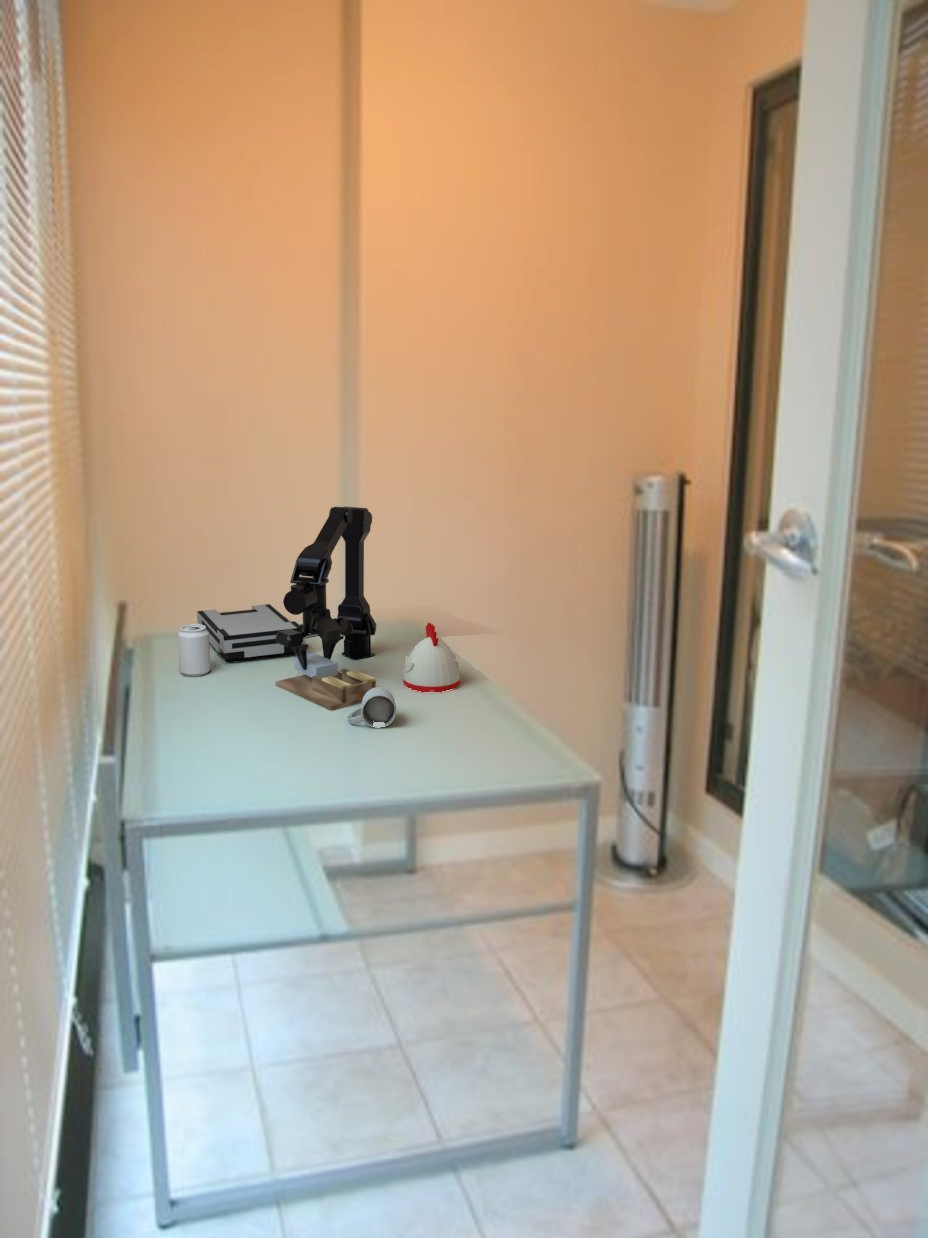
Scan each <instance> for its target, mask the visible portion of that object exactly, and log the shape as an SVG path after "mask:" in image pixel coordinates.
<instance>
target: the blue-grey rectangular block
mask: <svg viewBox="0 0 928 1238" xmlns="http://www.w3.org/2000/svg"><path fill="white" fill-rule="evenodd" d="M293 658H294V659H293V661H294V670H295V671H297V672H300V673H302V675H307V676H310V677H312V676H318V677H320V678H325V677H329V676H335V675H338V672H339V670H338V668H339V667H338V662H336V661H334V660H332V659H327V658H325V657H324V656H322V655H321V654H318V653H316V652H315V653H310V654H307V669H306V670H304V669H303V668H302V666H301V664H300V662H299V660H298V658H297V656H296V657H293Z"/></svg>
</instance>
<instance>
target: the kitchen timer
mask: <svg viewBox="0 0 928 1238" xmlns="http://www.w3.org/2000/svg"><path fill="white" fill-rule="evenodd" d="M424 626H425V635H426V637H425V638H423V639H422V640H420V641H419V642H418V643H417V644H416V645H415V646H414V647H413V649H412V650H411V652H410V654H409V656H408V655H406V656H405V659H404V666H403V676H402V678H403V679H402V684H403V683H404V684H403V686H404V685H405V686H406V687H408V688H411V689H412V690H417V691H421V692H420V693H424V692H440V693H443V692H442V691H446V690H450V689H453V688H456V687H457V688H459V687H458V685H459V684H460V685H461V675H460V674H461V673H460V666H459V660H458V657H457V656H456V655H455V653H454V652H453V651H452V649H451V648H450V646H448V645H447V643H446V642H445V641H443V640H442V639H441V638H438V637H437V634H438V633H437V631H436V626H435V625H434V624H433V623H432V622H427V623H426V625H424ZM460 685H459V686H460ZM405 686H404V687H405ZM406 687H405V688H406ZM457 688H456V689H457ZM412 690H411V691H412ZM417 691H416V692H417Z"/></svg>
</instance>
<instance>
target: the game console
mask: <svg viewBox="0 0 928 1238" xmlns="http://www.w3.org/2000/svg"><path fill="white" fill-rule="evenodd" d="M196 618H197V624H201V625H204V626H206V630H207V631H208V632H209V643H210V646H211V645H212V646H211V647H212V648H213V649H214V651H215V652H216V653H217V654H218V655H219V656H220V658H221V659H222V660H223V661H224V662H225V663H226V664H229V663H230V664H231V663H237V662H247V661H250V658H252V657H260V656H270V655H273V656H274V657H275V658H278V657H279V658H280V657H288V656H296V654H295V652H294V651H293V649H292V648H291V647H286V646H283V645H281V644H278V643H276V635H277V633H278V632H279V631H283V630H288V629H292V630H295V631H297V632H301V631H303V629H300V624H299V623H298V622H296V621H294V620H293V621H290V620H289V619H288V618H286V617H285V616H284V614H282V613H281V612H280V611H278V610H277V609H276V608H275V607H274V606H272V605H271V604H270V603H266V604H255V605H251V609H245V610H243V609H242V610H235V611H223V612H218V610H217V609H214V608H213V609H206V610H205V609H204V610H197V611H196Z"/></svg>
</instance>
